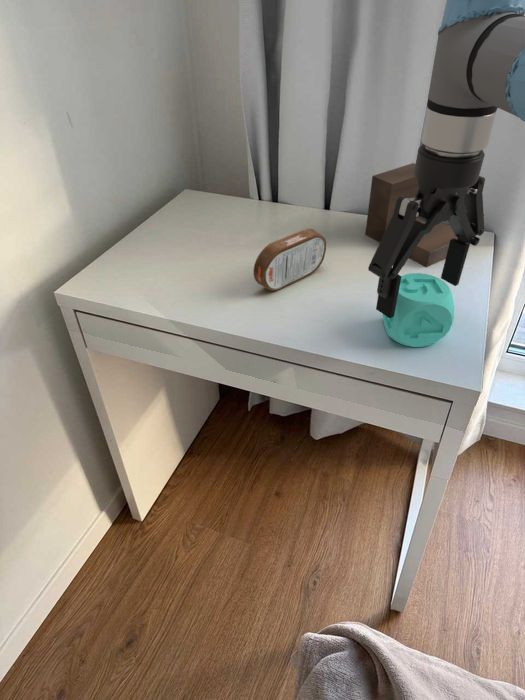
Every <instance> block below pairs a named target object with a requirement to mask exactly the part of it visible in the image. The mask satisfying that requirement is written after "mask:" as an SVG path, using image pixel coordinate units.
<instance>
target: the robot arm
mask: <svg viewBox="0 0 525 700" xmlns="http://www.w3.org/2000/svg"><path fill="white" fill-rule="evenodd" d="M431 70H432V71H431V75H430V76H431V77H430V83H429V89H428V93H427V103H426V110H425V114H424V120H423V124H422V130H421V133H420V142H421V143H422V144H421V145H420V146H419V147H418V150H417V155H416V161H415V164H416V165H415V170H414V176H415V178H416V180H417V182H418V185H419V187H418V190H417V192H416V194H415V196H414V197H413V198H409V199H408V198H406V197H403V196H400V197H399V198H398V199H397V201H396V205H395V210H394V214H393V216H392V218H391V221H390V223H389V225H388V227H387V229H386V231H385V233H384V235H383V237H382V240H381V242H379V244H378V246H377V248H376V250H375V252H374V254H373V256H372V259H371V260H370V262H369V265H368V267H367V270H368V271H369V272H370V273H371V274H373V275H375V276H377V277H378V282H377V290H376V293H377V300H376V308H375V310H376V311H378V312H379V313H381V314H382V315H383V314H384V315H385V316H387V317H388V318H392V317H394V313H395V308H396V303H397V298H398V292H399V287H400V282H401V277H402V276H403V275H400V274H399V273H400V272H401V270H402V268H403V267H404V266H405V264H406V263H407V261H408V260H409V259H410V258H409V257H410V255H411V254H412V252H413V251H414V249H415V248H416V246H417V245H418V243H419V242H420V240H421V239H422V237H423V236H424V235H425V234H428V233H430V232H431V230H432V229H433V227H434V226H435V225H438V224H439V223H443V222H448V224H449V226H450V227H451V228H452V230H453V232H454V234H455V236H456V237H457V238H458V239H454V238H453V239H451V240H450V243H449V247H448V251H447V255H446V259H444V263H443V267H442V270H441V275H440V279H441V280H442V281H444V282H446V283H449V284H450V285H452V286H454V287H456V286H459V284H460V281H461V277H462V274H463V270H464V266H465V264H466V259H467V256H468V253H469V249H470V245H471V246H474V247H476V246H477V245H478V244H479V243H480V240H481V239H480V236H482V235H483V234H484V233H485V215H484V197H483V191H484V187H485V182H486V178H485V177H483V176H481V175H480V173H481V170H482V166H483V163H484V159H485V156H486V155H485V152H484V150H485V149H486V148H488V145H489V142H490V139H491V134H492V130H493V127H494V122H495V118H496V115H497V110H498V109H500V110H502V111H504V112H506V113H509V114H511V115H513V116H515V117H516V118H518V119H520V120H521V121H523V122H525V0H446V2H445V7H444V11H443V15H442V20H441V24H440V27H439V28H438V30H437V41H436V46H435V54H434V59H433V65H432V69H431ZM417 216H419V218H420V220H421V221H423V222H425V224H423V223H421V222H419V221H417V220H415V219H416V218H417ZM478 236H479V237H478Z"/></svg>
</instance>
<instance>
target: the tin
mask: <svg viewBox="0 0 525 700" xmlns="http://www.w3.org/2000/svg"><path fill="white" fill-rule="evenodd" d="M326 252H327V240H326V238H325V237H324V236H323V235H322V234H321V233H319V232H317V231H316V230H315V229H314V228H311V227H310V228H309V227H308V228H304V229H301V230H299V231H297V232H294V233H292V234H290V235H287V236H285V237H282V238H280V239H277V240H275V241H272V242H270V243H269V244H267V245H266V246H265V247H264V248H263V249H262V250H261V251H260V253H259V254H258V255H257V257H256V260H255V262H254V265H253V278H254V280H255V282H256V283H257V284H258V285H260V286H262V287H263V288H265V289H266V290H268V291H272V292H274V291H275V292H276V291H279V290H282V289H284V288H285V287H288V286H290V285H292V284H294V283H296V282H298V281H301V280H303V279H305V278H306V277H310V276H312V275H313V274H314V273H315V272H316V271H317V270H318V269H319V268H320V266H321V265H322V264H323V262H324V260H325V257H326V256H325V255H326Z"/></svg>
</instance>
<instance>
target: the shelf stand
mask: <svg viewBox="0 0 525 700" xmlns="http://www.w3.org/2000/svg"><path fill="white" fill-rule="evenodd" d="M415 165H416V163H414V162H411V163H409V164H406V165H403V166H399V167H396V168H393V169H390V170H387V171H384V172H380V173H377V174H373V175H372V177H371V185H370V191H369V192H370V193H369V200H368V209H367V218H366V225H365V232H364V233H365V235H366V236H367V237H369V238H371V239H373V240H375V241H377V242H379V243H380V242H381V240H382V237H383V235H384V233H385V231H386V229H387V227H388V225H389V223H390V221H391V218H392V216H393V214H394V210H395V205H396V201H397V199H398V198H399V197H400V196H403V197H406V198H408V199H409V198H413V197H414V196H415V194H416V192H417V190H418V187H419V185H418V182H417V180H416V178H415V176H414V170H415ZM415 220H417V221H419V222H421V223H423V224H425V222H423V221H421V220H420V218H419V216H417V218H416V219H415ZM453 238H454V239H458V238H457V237H456V236H455V234H454V232H453V230H452V228H451V226H450V225H448V224H446V223H443V222H441V223H439V224H438V225H435V226H434V227H433V229H432V230H431V232H430V233H428V234H425V235H424V236H423V237H422V239H421V240H420V242H419V243H418V245H417V246H416V248H415V249H414V251H413V252H412V254H411V255H410V257H409V258H408V259H411V260H413V261H415V262H416V263H418V264H420V265H422V266H424V267H426V268H428V267H430V266H433V265H434V264H437V263H439V262H441V261H443V260H445V259H446V255H447V251H448V247H449V243H450V240H451V239H453Z"/></svg>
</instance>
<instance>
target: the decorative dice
mask: <svg viewBox="0 0 525 700" xmlns="http://www.w3.org/2000/svg"><path fill="white" fill-rule="evenodd" d="M401 276H402V277H401V282H400V287H399V292H398V298H397V303H396V308H395V313H394V317H392V318H388V317H387V316H385V315H384V314H382V320H383V326H384V330H385V331H386V334H387V336H388V337H389V338H390V339H392V340H393V341H394V342H396V343H398V344H400V345H403V346H406V347H411V348H422V347H423V348H424V347H428V346H431V345H434V344H435V343H437V342H439V341H440V340H442V339H444V337H445V336H446V335H447V334H448V333H449V332H450V331H451V329H452V327H453V323H454V319H455V318H454V317H455V301H454V297H453V293H452V290H451V288H450V286H449V285H448V284H447V282H446V281H445V280H443V279H441V278H439V277H437V276H434V275H433V274H427V273H421V272H411V273H406V274H403V275H401Z"/></svg>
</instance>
